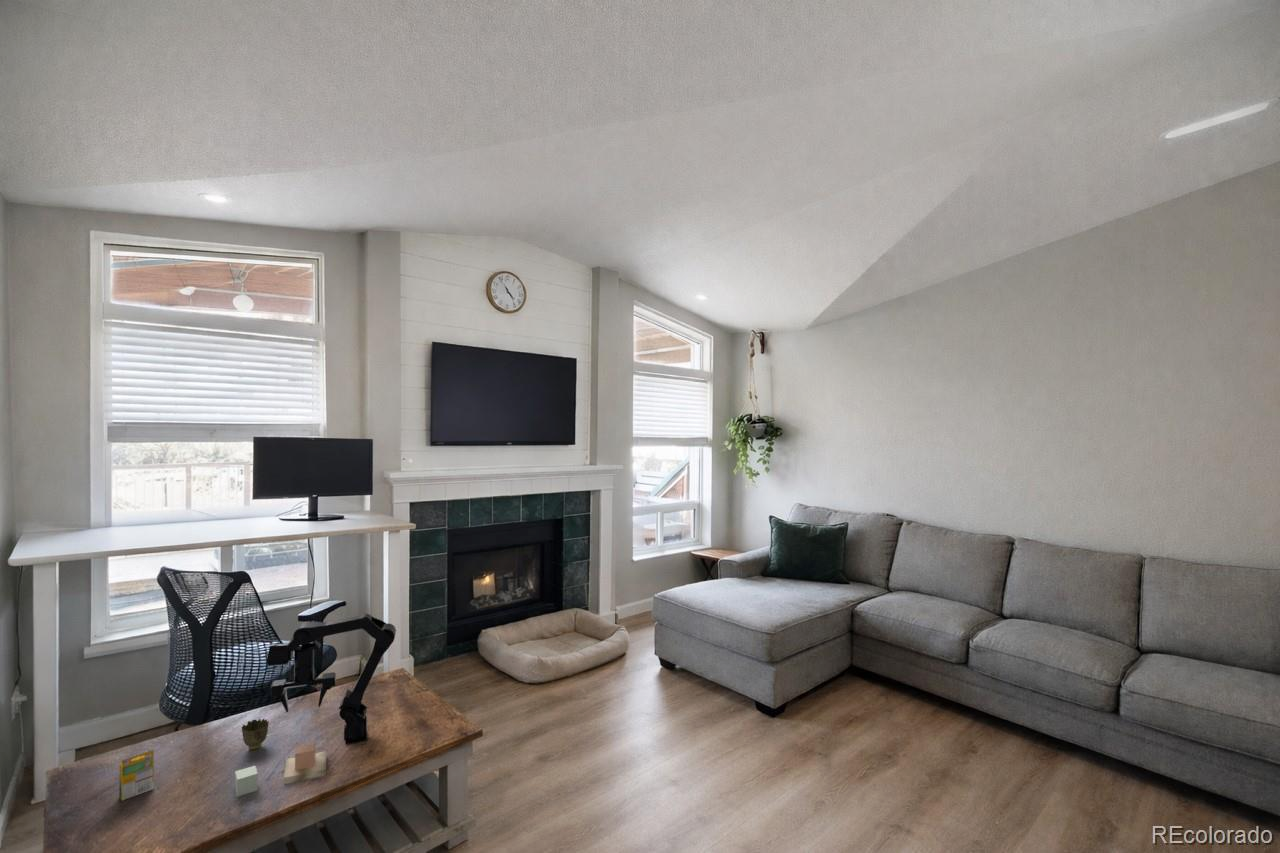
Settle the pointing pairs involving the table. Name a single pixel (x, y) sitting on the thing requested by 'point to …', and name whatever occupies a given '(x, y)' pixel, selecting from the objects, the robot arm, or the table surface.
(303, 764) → the terracotta cube
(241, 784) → the sage cube
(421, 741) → the table surface
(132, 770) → the crayon box
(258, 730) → the cup
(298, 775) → the plinth
